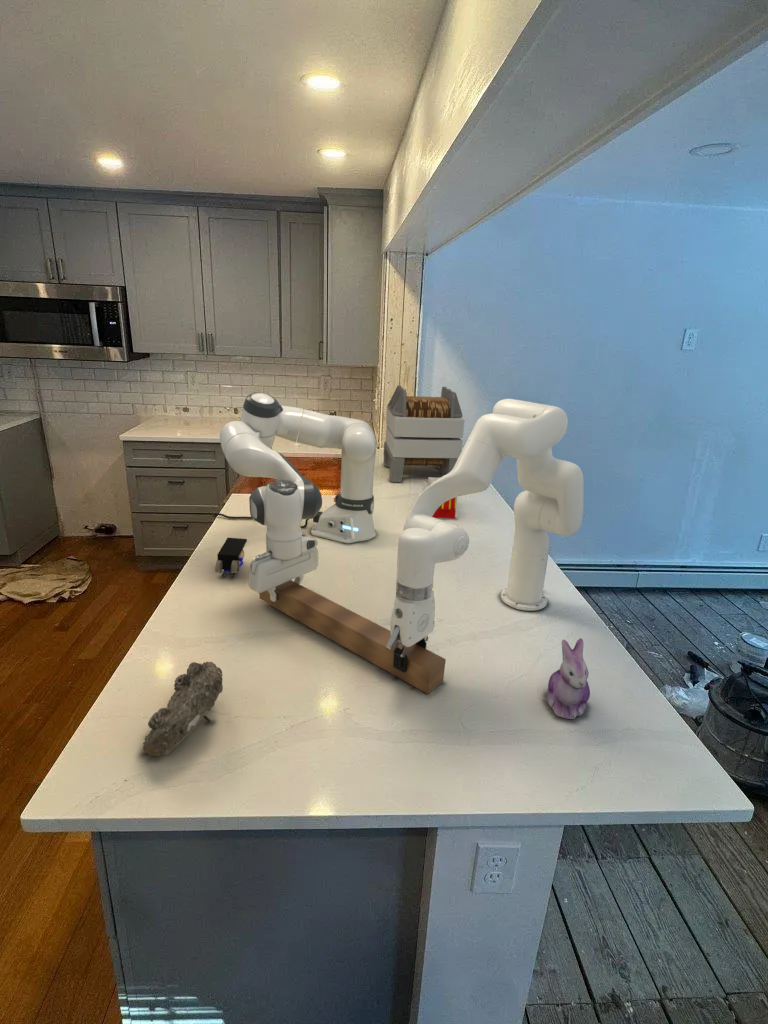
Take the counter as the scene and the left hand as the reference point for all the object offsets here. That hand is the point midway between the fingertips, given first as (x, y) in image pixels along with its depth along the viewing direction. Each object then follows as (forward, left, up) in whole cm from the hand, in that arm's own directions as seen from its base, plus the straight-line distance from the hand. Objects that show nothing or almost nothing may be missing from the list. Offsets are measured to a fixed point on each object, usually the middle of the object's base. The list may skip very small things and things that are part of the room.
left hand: (285, 595), depth 145 cm
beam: (+18, -8, -3) cm, 20 cm away
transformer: (+4, +142, -4) cm, 142 cm away
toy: (+22, +96, -4) cm, 99 cm away
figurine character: (-25, +16, -4) cm, 30 cm away
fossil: (+1, -44, -4) cm, 44 cm away
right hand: (+37, -16, -1) cm, 40 cm away
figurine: (+70, -16, -4) cm, 72 cm away
